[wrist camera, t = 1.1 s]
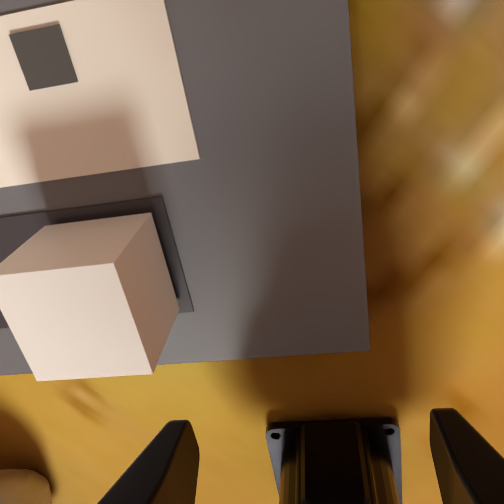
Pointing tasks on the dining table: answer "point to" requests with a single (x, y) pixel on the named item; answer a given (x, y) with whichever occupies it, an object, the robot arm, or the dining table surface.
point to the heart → (23, 487)
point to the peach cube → (90, 298)
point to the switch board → (196, 159)
